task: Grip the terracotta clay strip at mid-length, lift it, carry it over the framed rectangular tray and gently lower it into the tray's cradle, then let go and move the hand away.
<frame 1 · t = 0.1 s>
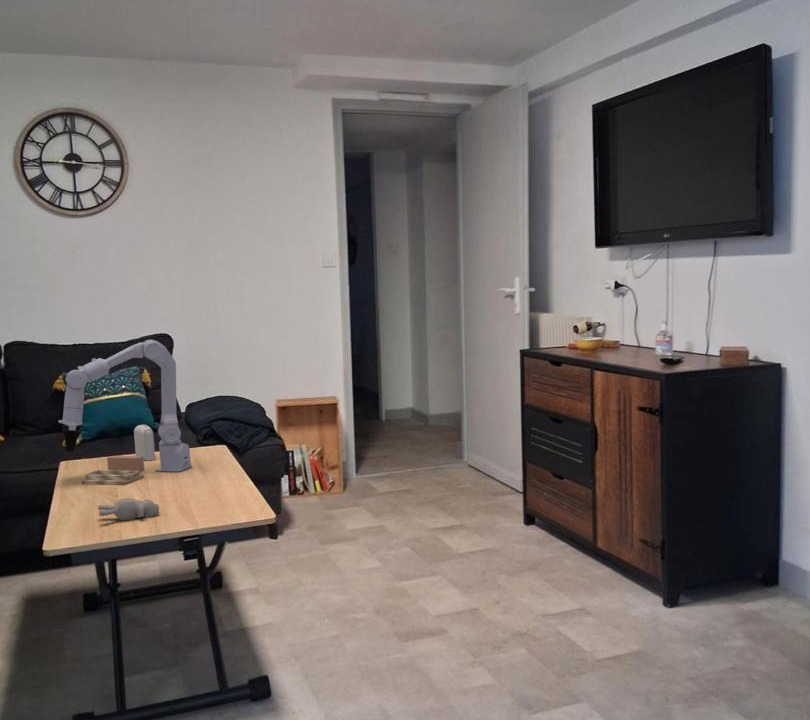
hand: (69, 449, 261), 11 cm above the table, tool pointing down, fingers open, 7 cm apart
bunny figurine: (129, 519, 216), on the table
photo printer: (145, 459, 294), on the table
framed rectangular tray: (112, 480, 261), on the table
clay strip: (126, 471, 275), on the table
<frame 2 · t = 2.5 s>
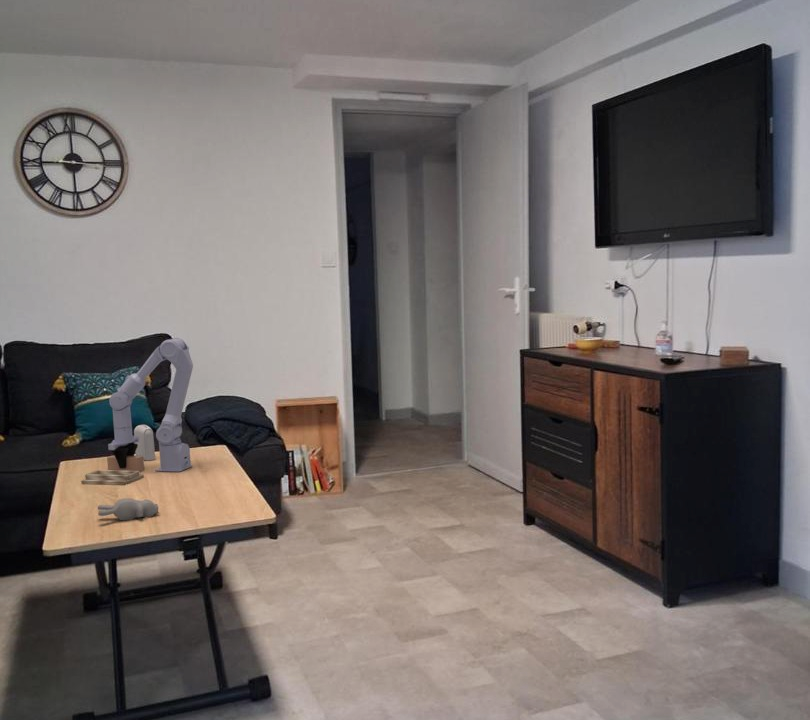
hand: (125, 466, 274), 1 cm above the table, tool pointing down, fingers closed on clay strip, 3 cm apart
clay strip: (126, 471, 275), on the table, touching gripper
everything else where it was.
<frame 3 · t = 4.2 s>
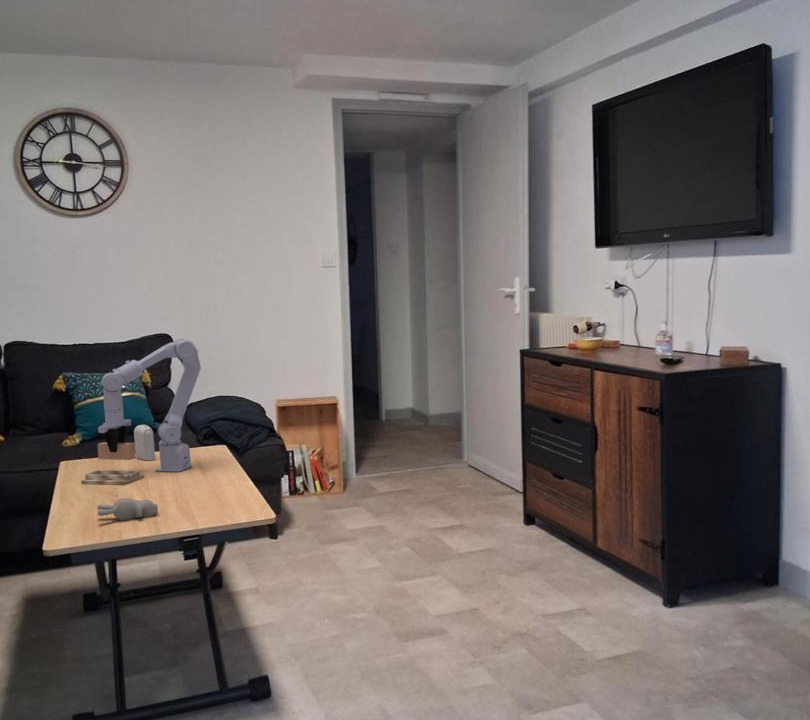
hand: (116, 450, 266), 8 cm above the table, tool pointing down, fingers closed on clay strip, 3 cm apart
clay strip: (117, 458, 267), point 6 cm above the table, touching gripper
everything else where it was.
when the fingers open (4 cm above the table, at t = 5.8 s): clay strip stays where it is, resting on framed rectangular tray.
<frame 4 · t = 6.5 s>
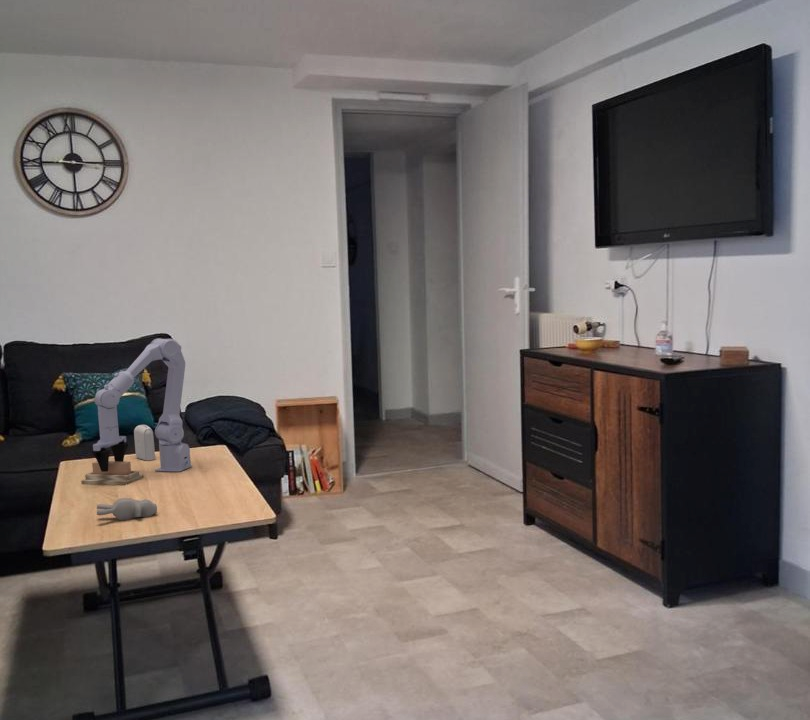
hand: (112, 468, 261), 4 cm above the table, tool pointing down, fingers open, 7 cm apart
clay strip: (112, 477, 261), point 1 cm above the table, touching framed rectangular tray
everything else where it was.
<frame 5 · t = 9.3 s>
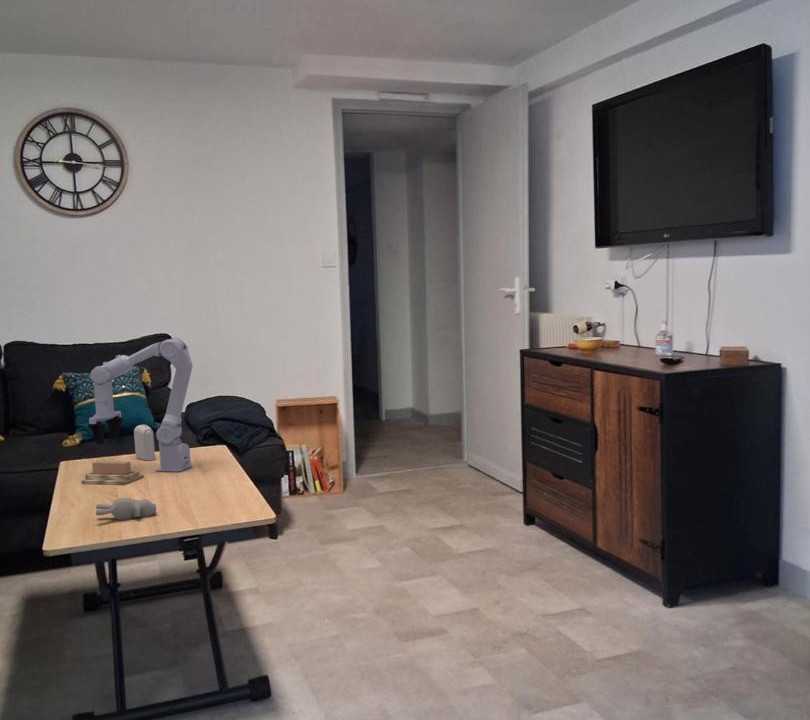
hand: (107, 441, 273), 10 cm above the table, tool pointing down, fingers open, 7 cm apart
at the end: clay strip 0.1 cm off-centre on the framed rectangular tray, point 1.0 cm above the framed rectangular tray's base; clay strip tilted 0°; the gripper is holding nothing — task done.
